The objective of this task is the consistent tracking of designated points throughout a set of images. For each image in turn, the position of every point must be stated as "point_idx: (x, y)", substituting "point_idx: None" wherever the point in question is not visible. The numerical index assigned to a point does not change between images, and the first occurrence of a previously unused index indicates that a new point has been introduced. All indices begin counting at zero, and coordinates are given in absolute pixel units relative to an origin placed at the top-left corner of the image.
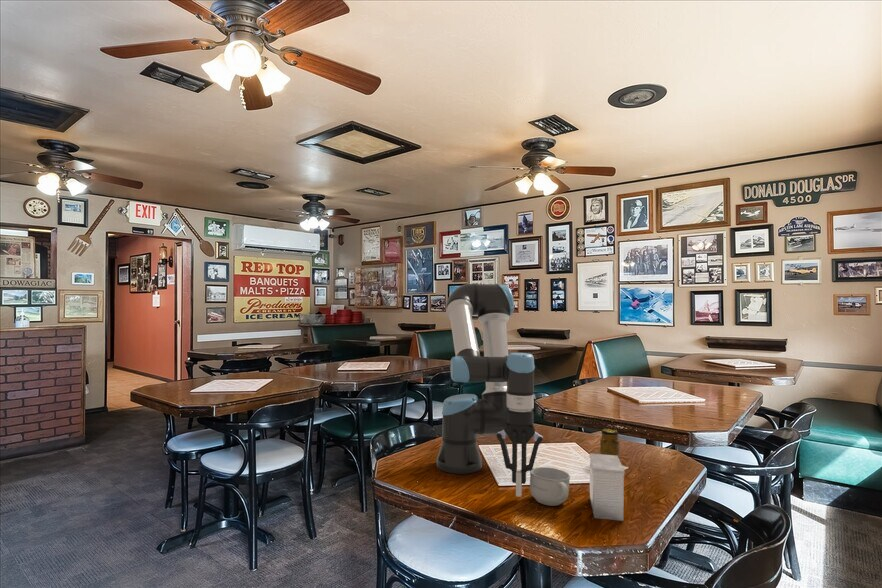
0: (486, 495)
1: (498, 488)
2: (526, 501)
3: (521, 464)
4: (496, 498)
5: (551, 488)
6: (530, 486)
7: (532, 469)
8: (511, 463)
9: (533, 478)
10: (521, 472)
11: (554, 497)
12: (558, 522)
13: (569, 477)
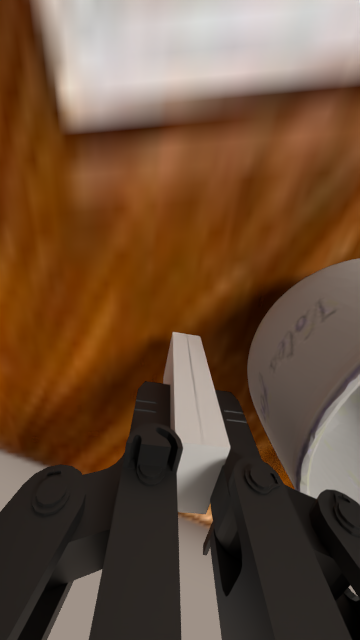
0: (15, 296)
1: (70, 183)
2: (215, 345)
3: (222, 632)
4: (72, 326)
5: (357, 490)
6: (255, 389)
7: (356, 387)
8: (92, 537)
9: (291, 481)
10: (209, 502)
11: (340, 446)
12: (285, 474)
13: None
